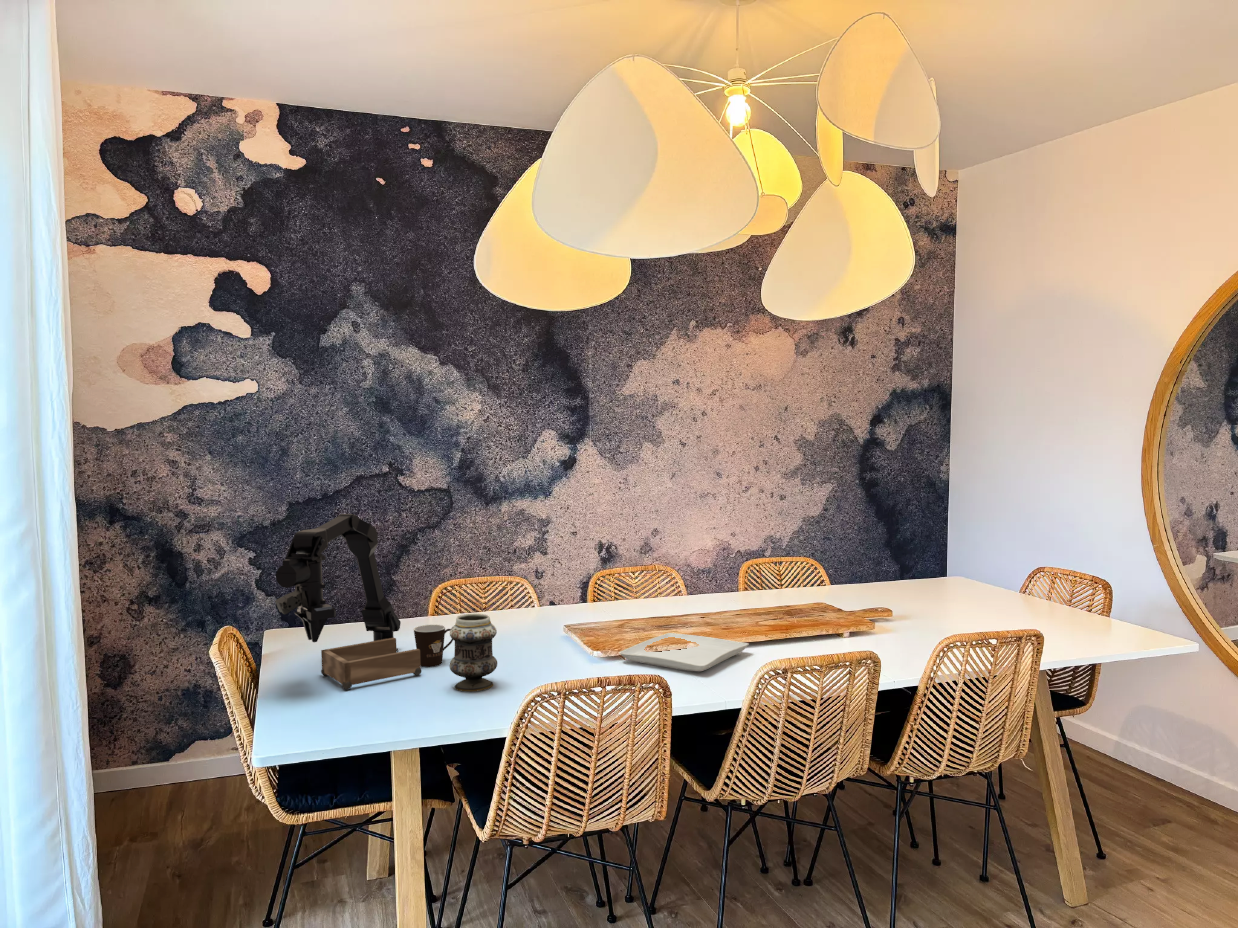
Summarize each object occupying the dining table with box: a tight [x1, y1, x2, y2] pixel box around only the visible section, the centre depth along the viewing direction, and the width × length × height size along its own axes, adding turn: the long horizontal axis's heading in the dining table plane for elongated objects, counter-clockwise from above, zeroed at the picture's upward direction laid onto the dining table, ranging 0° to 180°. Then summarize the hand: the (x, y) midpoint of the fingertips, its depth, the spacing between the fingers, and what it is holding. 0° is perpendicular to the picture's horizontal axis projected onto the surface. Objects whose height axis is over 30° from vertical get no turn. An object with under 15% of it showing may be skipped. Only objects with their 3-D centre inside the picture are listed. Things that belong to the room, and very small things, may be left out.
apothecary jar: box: [449, 613, 498, 693], centre depth 234 cm, size 12×12×18 cm
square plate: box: [618, 632, 750, 672], centre depth 258 cm, size 27×27×4 cm
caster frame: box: [320, 637, 423, 691], centre depth 245 cm, size 18×21×7 cm
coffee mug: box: [413, 624, 454, 668], centre depth 256 cm, size 12×9×10 cm
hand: (312, 640), depth 236 cm, fingers open, 3 cm apart
